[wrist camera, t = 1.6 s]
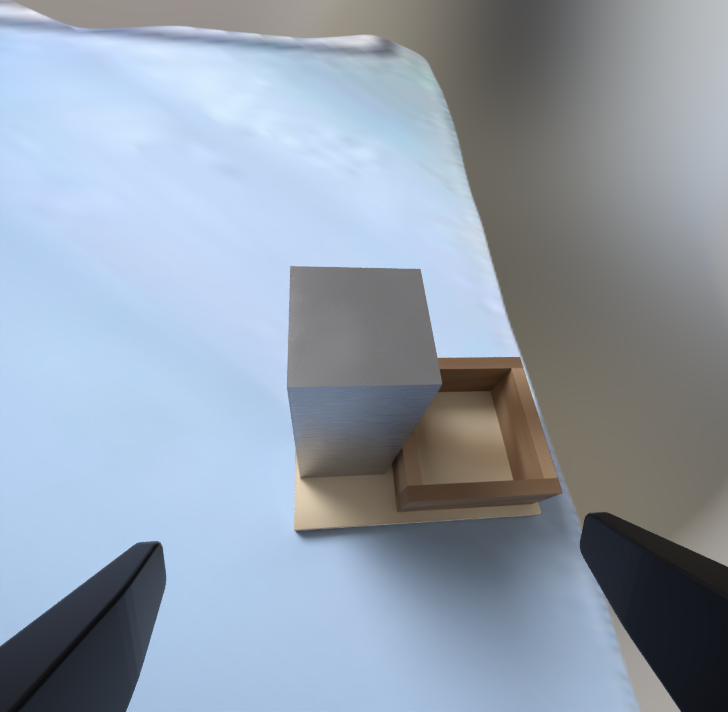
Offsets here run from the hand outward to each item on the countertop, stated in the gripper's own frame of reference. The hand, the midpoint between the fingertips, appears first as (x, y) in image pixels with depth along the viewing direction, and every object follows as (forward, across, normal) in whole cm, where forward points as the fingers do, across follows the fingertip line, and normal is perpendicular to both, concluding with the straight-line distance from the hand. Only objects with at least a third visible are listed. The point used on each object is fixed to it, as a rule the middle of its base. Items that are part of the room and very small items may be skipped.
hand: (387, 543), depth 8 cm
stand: (+13, -4, +5) cm, 15 cm away
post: (+13, 0, +4) cm, 14 cm away
